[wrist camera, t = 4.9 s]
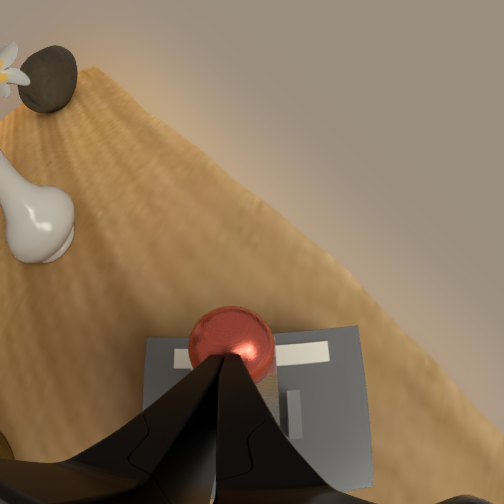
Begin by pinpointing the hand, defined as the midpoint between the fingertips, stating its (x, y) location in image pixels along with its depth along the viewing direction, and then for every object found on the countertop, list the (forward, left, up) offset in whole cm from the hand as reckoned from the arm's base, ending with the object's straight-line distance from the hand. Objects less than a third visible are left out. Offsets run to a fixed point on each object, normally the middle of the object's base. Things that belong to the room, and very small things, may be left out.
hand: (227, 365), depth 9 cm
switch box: (-1, +1, -13) cm, 13 cm away
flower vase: (+23, +15, -14) cm, 30 cm away
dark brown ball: (+66, +18, -14) cm, 69 cm away
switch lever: (-1, +1, -7) cm, 7 cm away
